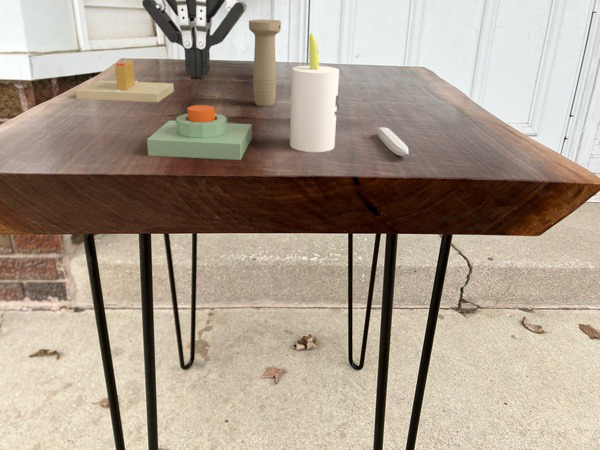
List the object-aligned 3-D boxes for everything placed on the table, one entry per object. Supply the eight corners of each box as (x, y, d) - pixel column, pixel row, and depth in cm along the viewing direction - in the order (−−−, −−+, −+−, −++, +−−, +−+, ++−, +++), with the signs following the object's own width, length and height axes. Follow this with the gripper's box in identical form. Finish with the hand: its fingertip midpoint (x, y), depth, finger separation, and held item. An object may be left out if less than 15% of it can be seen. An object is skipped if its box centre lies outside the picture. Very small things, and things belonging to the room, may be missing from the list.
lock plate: (77, 108, 90) (74, 89, 89) (101, 96, 100) (99, 79, 98) (158, 111, 90) (156, 93, 88) (174, 99, 99) (173, 82, 98)
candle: (331, 154, 71) (338, 36, 65) (284, 149, 72) (287, 33, 66) (339, 142, 76) (346, 32, 70) (295, 137, 78) (299, 30, 71)
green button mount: (148, 155, 68) (145, 125, 66) (170, 135, 77) (168, 107, 75) (240, 160, 67) (240, 129, 66) (251, 139, 76) (251, 111, 75)
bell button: (184, 123, 69) (184, 110, 68) (191, 117, 72) (191, 104, 72) (212, 124, 69) (211, 111, 68) (217, 118, 72) (217, 105, 72)
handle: (245, 116, 89) (243, 21, 82) (257, 108, 94) (257, 19, 88) (272, 119, 88) (273, 23, 81) (283, 111, 93) (284, 20, 87)
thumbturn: (126, 83, 96) (123, 59, 94) (135, 83, 96) (132, 59, 94) (117, 89, 91) (114, 64, 89) (126, 89, 91) (124, 64, 89)
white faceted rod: (400, 163, 68) (402, 151, 68) (374, 134, 81) (375, 123, 80) (412, 163, 69) (414, 151, 68) (384, 134, 81) (385, 123, 80)
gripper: (253, -70, 64) (253, 76, 71) (146, -74, 65) (156, 71, 72) (243, -76, 57) (244, 86, 64) (123, -81, 58) (137, 81, 65)
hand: (198, 78), depth 68 cm, fingers closed
